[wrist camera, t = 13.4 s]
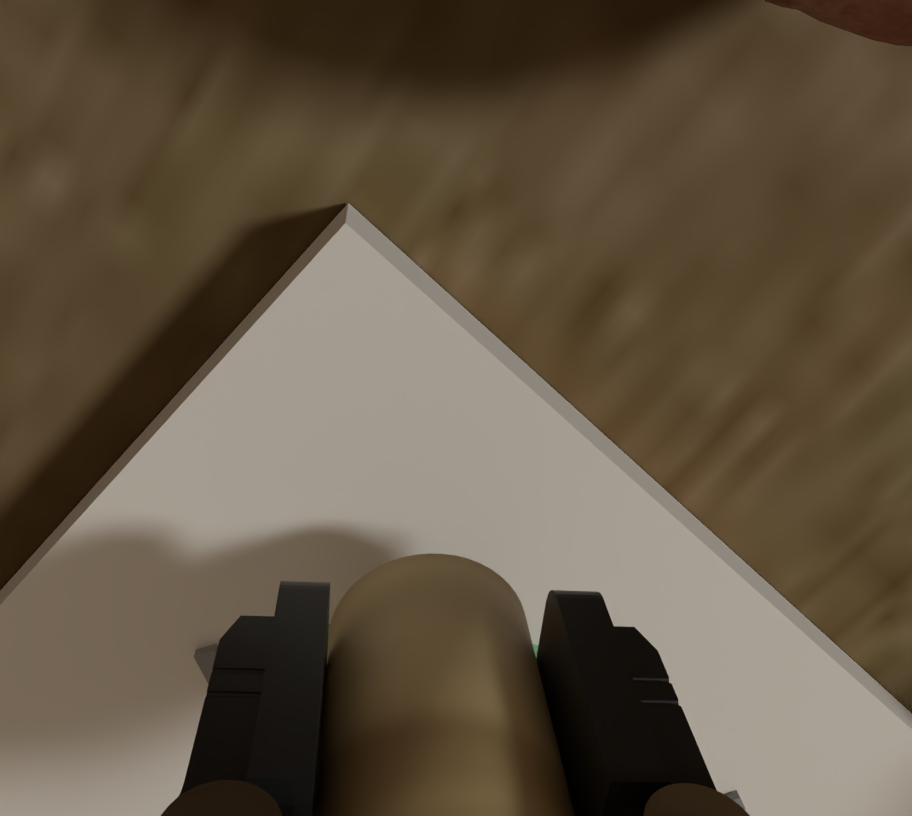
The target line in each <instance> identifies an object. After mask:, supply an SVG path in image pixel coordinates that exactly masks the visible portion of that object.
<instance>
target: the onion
mask: <svg viewBox="0 0 912 816" xmlns="http://www.w3.org/2000/svg"><path fill="white" fill-rule="evenodd" d="M765 1H766V2H769V3H772V4H775V5H778V6H781V7H786V8H791V9H797V10H800V11H802V12H803V13H805V14H807V15H809V16H811V17H813V18H815V19H817V20H819V21H821V22H824V23H826V24H829V25H832V26H835V27H838V28H841V29H843V30H846V31H849V32H852V33H855V34H857V35H860V36H863V37H866V38H869V39H872V40H876V41H881V42H885V43H890V44H895V45H904V46H912V0H765Z"/></svg>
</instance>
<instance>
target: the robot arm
mask: <svg viewBox="0 0 912 816" xmlns="http://www.w3.org/2000/svg"><path fill="white" fill-rule="evenodd" d="M329 606H330V582H299V581H281V582H280V586H279V591H278V597H277V603H276V609H275V614H274V616H243V615H241V616H240V617H239V618H238V619H237V620H236V621H235V623H234V624H233V625H232V626H231V627H230V628H229V629H228V631H227V632H226V633H225V634H224V635H223V636H222V637H221V638H220V640H219V644H218V648H217V652H216V656H215V660H214V664H213V670H212V673H211V676H210V680H209V684H208V688H207V695H206V697H205V700H204V704H203V708H202V712H201V716H200V720H199V724H198V728H197V732H196V736H195V740H194V744H193V748H192V752H191V756H190V760H189V764H188V768H187V772H186V776H185V780H184V784H183V787H182V790H181V793H180V795H179V796H178V797H177V798H176V799H175V800H174V801H173V802H172V803H171V804H170V805H169V806H168V807H167V808H166V809H165V811H164V812H163V813H162V815H161V816H316V804H317V790H318V777H319V764H320V750H321V737H322V724H323V711H324V697H325V684H326V671H327V651H328V629H329ZM536 660H537V664H538V668H539V672H540V676H541V680H542V684H543V688H544V692H545V696H546V700H547V704H548V708H549V712H550V716H551V720H552V724H553V728H554V732H555V736H556V740H557V744H558V748H559V752H560V756H561V760H562V764H563V768H564V772H565V776H566V780H567V785H568V789H569V793H570V797H571V801H572V805H573V809H574V813H575V816H750V815H749V814H748V813H747V812H746V811H745V810H744V809H743V808H742V807H741V806H740V805H739V804H737V803H736V802H735V801H734V800H732V799H731V798H729V797H728V796H726V795H725V794H723V793H721V792H719V791H717V790H716V788H715V785H714V783H713V780H712V778H711V776H710V773H709V771H708V769H707V766H706V764H705V761H704V759H703V757H702V754H701V752H700V750H699V747H698V745H697V742H696V740H695V738H694V735H693V733H692V731H691V728H690V726H689V723H688V721H687V719H686V716H685V714H684V712H683V709H682V707H681V706H679V704H678V701H679V700H678V697H677V695H676V693H675V690H674V688H673V686H672V683H669V676H668V674H667V671H666V669H665V667H664V664H663V662H662V659H661V657H660V655H659V652H658V650H657V649H656V648H655V647H654V646H653V645H652V644H651V643H650V642H649V641H648V640H647V639H646V638H645V637H644V636H643V635H642V634H641V633H640V632H639V631H638V630H637V629H636V628H635V627H622V626H613V623H612V620H611V618H610V615H609V612H608V610H607V607H606V604H605V601H604V599H603V596H602V595H601V593H600V592H595V591H564V590H551V591H550V592H549V593H548V596H547V599H546V605H545V610H544V616H543V622H542V628H541V633H540V639H539V645H538V651H537V657H536Z"/></svg>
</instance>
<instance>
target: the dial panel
mask: <svg viewBox="0 0 912 816" xmlns="http://www.w3.org/2000/svg"><path fill="white" fill-rule="evenodd" d="M428 553H432V554H448V555H456V556H460V557H464V558H468V559H471V560H473V561H476V562H478V563H481V564H483V565H484V566H486V567H488V568H490V569H492V570H493V571H494V572H496V573H497V574H499V575H500V576H501V577H502V578H503V579H504V580H505V581H506V582H507V583H508V584H509V585H510V586H511V587H512V589H513V590H514V591H515V592H516V594H517V596H518V598H519V600H520V601H521V604H522V606H523V609H524V612H525V616H526V620H527V624H528V628H529V632H530V636H531V640H532V644H533V648H534V652H535V656H536V657H537V651H538V645H539V639H540V633H541V628H542V622H543V616H544V610H545V605H546V599H547V596H548V593H549V592H550V591H551V590H564V591H595V592H600V593H601V595H602V596H603V599H604V601H605V604H606V607H607V610H608V612H609V615H610V618H611V620H612V623H613V626H622V627H635V628H636V629H637V630H638V631H639V632H640V633H641V634H642V635H643V636H644V637H645V638H646V639H647V640H648V641H649V642H650V643H651V644H652V645H653V646H654V647H655V648H656V649H657V650H658V652H659V655H660V657H661V659H662V662H663V664H664V667H665V669H666V671H667V674H668V676H669V683H672V686H673V688H674V690H675V693H676V695H677V697H678V700H679V701H678V704H679V706H681V707H682V709H683V712H684V714H685V716H686V719H687V721H688V723H689V726H690V728H691V731H692V733H693V735H694V738H695V740H696V742H697V745H698V747H699V750H700V752H701V754H702V757H703V759H704V761H705V764H706V766H707V769H708V771H709V773H710V776H711V778H712V780H713V783H714V785H715V788H716V790H717V791H719V792H721V793H723V794H725V795H726V796H728V797H729V798H731V799H732V800H734V801H735V802H736V803H737V804H739V805H740V806H741V807H742V808H743V809H744V810H745V811H746V812H747V813H748V814H749V815H750V816H912V713H911V712H910V711H908V710H907V709H906V708H905V707H904V706H903V705H902V704H901V703H900V702H899V701H897V700H896V699H895V698H894V697H893V696H892V695H891V694H890V693H889V692H887V691H886V690H885V689H884V688H883V687H882V686H881V685H880V684H879V683H878V682H876V681H875V680H874V679H873V678H872V677H871V676H870V675H869V674H868V673H867V672H865V671H864V670H863V669H862V668H861V667H860V666H859V665H858V664H857V663H855V662H854V661H853V660H852V659H851V658H850V657H849V656H848V655H847V654H846V653H844V652H843V651H842V650H841V649H840V648H839V647H838V646H837V645H836V644H835V643H833V642H832V641H831V640H830V639H829V638H828V637H827V636H826V635H825V634H823V633H822V632H821V631H820V630H819V629H818V628H817V627H816V626H815V625H814V624H812V623H811V622H810V621H809V620H808V619H807V618H806V617H805V616H804V615H803V614H801V613H800V612H799V611H798V610H797V609H796V608H795V607H794V606H793V605H791V604H790V603H789V602H788V601H787V600H786V599H785V598H784V597H783V596H782V595H780V594H779V593H778V592H777V591H776V590H775V589H774V588H773V587H772V586H771V585H769V584H768V583H767V582H766V581H765V580H764V579H763V578H762V577H761V576H759V575H758V574H757V573H756V572H755V571H754V570H753V569H752V568H751V567H750V566H748V565H747V564H746V563H745V562H744V561H743V560H742V559H741V558H740V557H739V556H737V555H736V554H735V553H734V552H733V551H732V550H731V549H730V548H729V547H727V546H726V545H725V544H724V543H723V542H722V541H721V540H720V539H719V538H718V537H716V536H715V535H714V534H713V533H712V532H711V531H710V530H709V529H708V528H707V527H705V526H704V525H703V524H702V523H701V522H700V521H699V520H698V519H697V518H695V517H694V516H693V515H692V514H691V513H690V512H689V511H688V510H687V509H686V508H684V507H683V506H682V505H681V504H680V503H679V502H678V501H677V500H676V499H675V498H673V497H672V496H671V495H670V494H669V493H668V492H667V491H666V490H665V489H663V488H662V487H661V486H660V485H659V484H658V483H657V482H656V481H655V480H654V479H652V478H651V477H650V476H649V475H648V474H647V473H646V472H645V471H644V470H643V469H641V468H640V467H639V466H638V465H637V464H636V463H635V462H634V461H633V460H631V459H630V458H629V457H628V456H627V455H626V454H625V453H624V452H623V451H622V450H620V449H619V448H618V447H617V446H616V445H615V444H614V443H613V442H612V441H611V440H609V439H608V438H607V437H606V436H605V435H604V434H603V433H602V432H601V431H599V430H598V429H597V428H596V427H595V426H594V425H593V424H592V423H591V422H590V421H588V420H587V419H586V418H585V417H584V416H583V415H582V414H581V413H580V412H579V411H577V410H576V409H575V408H574V407H573V406H572V405H571V404H570V403H569V402H567V401H566V400H565V399H564V398H563V397H562V396H561V395H560V394H559V393H558V392H556V391H555V390H554V389H553V388H552V387H551V386H550V385H549V384H548V383H547V382H545V381H544V380H543V379H542V378H541V377H540V376H539V375H538V374H537V373H535V372H534V371H533V370H532V369H531V368H530V367H529V366H528V365H527V364H526V363H524V362H523V361H522V360H521V359H520V358H519V357H518V356H517V355H516V354H515V353H513V352H512V351H511V350H510V349H509V348H508V347H507V346H506V345H505V344H503V343H502V342H501V341H500V340H499V339H498V338H497V337H496V336H495V335H494V334H492V333H491V332H490V331H489V330H488V329H487V328H486V327H485V326H484V325H483V324H481V323H480V322H479V321H478V320H477V319H476V318H475V317H474V316H473V315H471V314H470V313H469V312H468V311H467V310H466V309H465V308H464V307H463V306H462V305H460V304H459V303H458V302H457V301H456V300H455V299H454V298H453V297H452V296H451V295H449V294H448V293H447V292H446V291H445V290H444V289H443V288H442V287H441V286H439V285H438V284H437V283H436V282H435V281H434V280H433V279H432V278H431V277H430V276H428V275H427V274H426V273H425V272H424V271H423V270H422V269H421V268H420V267H419V266H417V265H416V264H415V263H414V262H413V261H412V260H411V259H410V258H409V257H407V256H406V255H405V254H404V253H403V252H402V251H401V250H400V249H399V248H398V247H396V246H395V245H394V244H393V243H392V242H391V241H390V240H389V239H388V238H387V237H385V236H384V235H383V234H382V233H381V232H380V231H379V230H378V229H377V228H375V227H374V226H373V225H372V224H371V223H370V222H369V221H368V220H367V219H366V218H364V217H363V216H362V215H361V214H360V213H359V212H358V211H357V210H356V209H355V208H353V207H352V206H351V205H350V204H349V203H348V204H347V205H346V206H345V207H344V208H343V209H342V211H341V212H340V213H339V214H338V215H337V216H336V217H335V218H334V219H333V221H332V222H331V223H330V224H329V225H328V226H327V227H326V228H325V229H324V231H323V232H322V233H321V234H320V235H319V236H318V237H317V238H316V240H315V241H314V242H313V243H312V244H311V245H310V246H309V247H308V248H307V250H306V251H305V252H304V253H303V254H302V255H301V256H300V257H299V258H298V260H297V261H296V262H295V263H294V264H293V265H292V266H291V267H290V268H289V270H288V271H287V272H286V273H285V274H284V275H283V276H282V277H281V279H280V280H279V281H278V282H277V283H276V284H275V285H274V286H273V287H272V289H271V290H270V291H269V292H268V293H267V294H266V295H265V296H264V297H263V299H262V300H261V301H260V302H259V303H258V304H257V305H256V306H255V307H254V309H253V310H252V311H251V312H250V313H249V314H248V315H247V316H246V318H245V319H244V320H243V321H242V322H241V323H240V324H239V325H238V326H237V328H236V329H235V330H234V331H233V332H232V333H231V334H230V335H229V336H228V338H227V339H226V340H225V341H224V342H223V343H222V344H221V345H220V346H219V348H218V349H217V350H216V351H215V352H214V353H213V354H212V355H211V357H210V358H209V359H208V360H207V361H206V362H205V363H204V364H203V365H202V367H201V368H200V369H199V370H198V371H197V372H196V373H195V374H194V375H193V377H192V378H191V379H190V380H189V381H188V382H187V383H186V384H185V385H184V387H183V388H182V389H181V390H180V391H179V392H178V393H177V394H176V395H175V397H174V398H173V399H172V400H171V401H170V402H169V403H168V404H167V406H166V407H165V408H164V409H163V410H162V411H161V412H160V413H159V414H158V416H157V417H156V418H155V419H154V420H153V421H152V422H151V423H150V424H149V426H148V427H147V428H146V429H145V430H144V431H143V432H142V433H141V434H140V436H139V437H138V438H137V439H136V440H135V441H134V442H133V443H132V445H131V446H130V447H129V448H128V449H127V450H126V451H125V452H124V453H123V455H122V456H121V457H120V458H119V459H118V460H117V461H116V462H115V463H114V465H113V466H112V467H111V468H110V469H109V470H108V471H107V472H106V473H105V475H104V476H103V477H102V478H101V479H100V480H99V481H98V482H97V484H96V485H95V486H94V487H93V488H92V489H91V490H90V491H89V492H88V494H87V495H86V496H85V497H84V498H83V499H82V500H81V501H80V502H79V504H78V505H77V506H76V507H75V508H74V509H73V510H72V511H71V512H70V514H69V515H68V516H67V517H66V518H65V519H64V520H63V521H62V523H61V524H60V525H59V526H58V527H57V528H56V529H55V530H54V531H53V533H52V534H51V535H50V536H49V537H48V538H47V539H46V540H45V541H44V543H43V544H42V545H41V546H40V547H39V548H38V549H37V550H36V551H35V553H34V554H33V555H32V556H31V557H30V558H29V559H28V560H27V561H26V563H25V564H24V565H23V566H22V567H21V568H20V569H19V570H18V572H17V573H16V574H15V575H14V576H13V577H12V578H11V579H10V580H9V582H8V583H7V584H6V585H5V586H4V587H3V588H2V589H1V590H0V816H161V815H162V813H163V812H164V811H165V809H166V808H167V807H168V806H169V805H170V804H171V803H172V802H173V801H174V800H175V799H176V798H177V797H178V796H179V795H180V793H181V790H182V787H183V784H184V780H185V776H186V772H187V768H188V764H189V760H190V756H191V752H192V748H193V744H194V740H195V736H196V732H197V728H198V724H199V720H200V716H201V712H202V708H203V704H204V700H205V697H206V695H207V688H208V684H209V680H210V676H211V673H212V670H213V664H214V660H215V656H216V652H217V648H218V644H219V640H220V638H221V637H222V636H223V635H224V634H225V633H226V632H227V631H228V629H229V628H230V627H231V626H232V625H233V624H234V623H235V621H236V620H237V619H238V618H239V617H240V616H241V615H243V616H274V614H275V609H276V603H277V597H278V591H279V586H280V582H281V581H299V582H330V606H329V629H328V644H329V631H330V625H331V620H332V617H333V614H334V612H335V609H336V607H337V605H338V604H339V602H340V600H341V598H342V597H343V596H344V594H345V593H346V592H347V590H348V589H349V588H350V587H351V586H352V585H353V584H354V583H355V582H356V581H357V580H359V579H360V578H361V577H363V576H364V575H365V574H366V573H368V572H370V571H371V570H373V569H375V568H376V567H378V566H380V565H383V564H385V563H387V562H389V561H392V560H396V559H399V558H402V557H406V556H411V555H417V554H428ZM327 657H328V651H327Z"/></svg>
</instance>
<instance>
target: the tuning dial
mask: <svg viewBox="0 0 912 816" xmlns="http://www.w3.org/2000/svg"><path fill="white" fill-rule="evenodd" d="M316 816H575V813H574V809H573V805H572V801H571V797H570V793H569V789H568V785H567V780H566V776H565V772H564V768H563V764H562V760H561V756H560V752H559V748H558V744H557V740H556V736H555V732H554V728H553V724H552V720H551V716H550V712H549V708H548V704H547V700H546V696H545V692H544V688H543V684H542V680H541V676H540V672H539V668H538V664H537V660H536V656H535V652H534V648H533V644H532V640H531V636H530V632H529V628H528V624H527V620H526V616H525V612H524V609H523V606H522V604H521V601H520V600H519V598H518V596H517V594H516V592H515V591H514V590H513V589H512V587H511V586H510V585H509V584H508V583H507V582H506V581H505V580H504V579H503V578H502V577H501V576H500V575H499V574H497V573H496V572H494V571H493V570H492V569H490V568H488V567H486V566H484V565H483V564H481V563H478V562H476V561H473V560H471V559H468V558H464V557H460V556H456V555H448V554H432V553H428V554H417V555H411V556H406V557H402V558H399V559H396V560H392V561H389V562H387V563H385V564H383V565H380V566H378V567H376V568H375V569H373V570H371V571H370V572H368V573H366V574H365V575H364V576H363V577H361V578H360V579H359V580H357V581H356V582H355V583H354V584H353V585H352V586H351V587H350V588H349V589H348V590H347V592H346V593H345V594H344V596H343V597H342V598H341V600H340V602H339V604H338V605H337V607H336V609H335V612H334V614H333V617H332V620H331V625H330V631H329V644H328V657H327V671H326V684H325V697H324V711H323V724H322V737H321V750H320V764H319V777H318V790H317V804H316Z"/></svg>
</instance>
